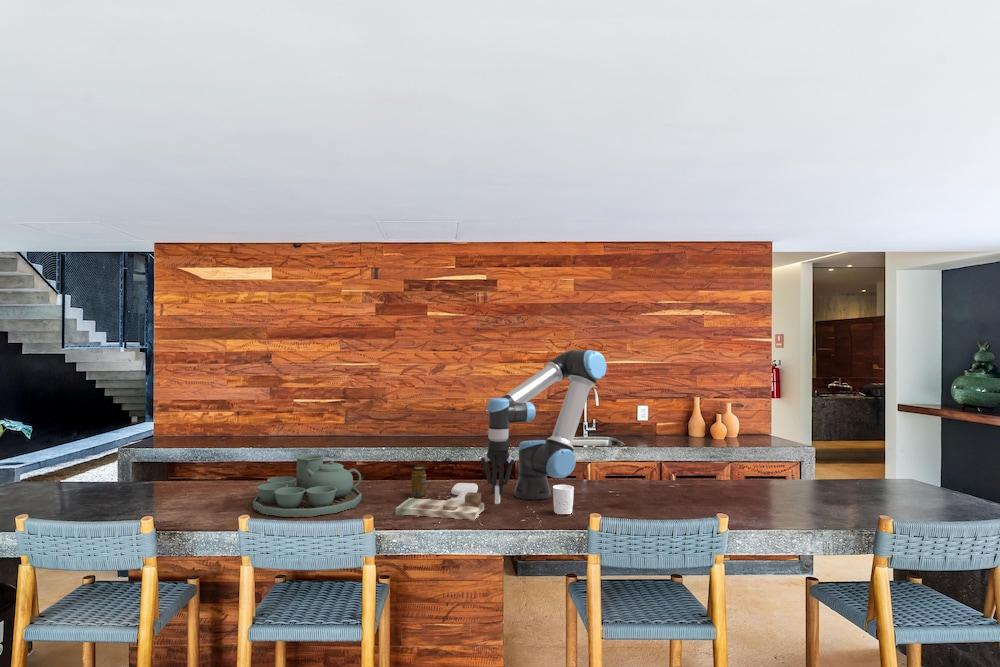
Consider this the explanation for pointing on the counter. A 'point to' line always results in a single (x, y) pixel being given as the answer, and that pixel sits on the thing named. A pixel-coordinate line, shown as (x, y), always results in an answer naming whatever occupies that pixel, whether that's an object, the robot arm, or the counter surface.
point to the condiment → (418, 482)
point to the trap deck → (439, 509)
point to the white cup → (563, 499)
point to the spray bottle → (463, 491)
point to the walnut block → (472, 499)
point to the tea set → (309, 490)
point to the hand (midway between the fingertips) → (497, 502)
